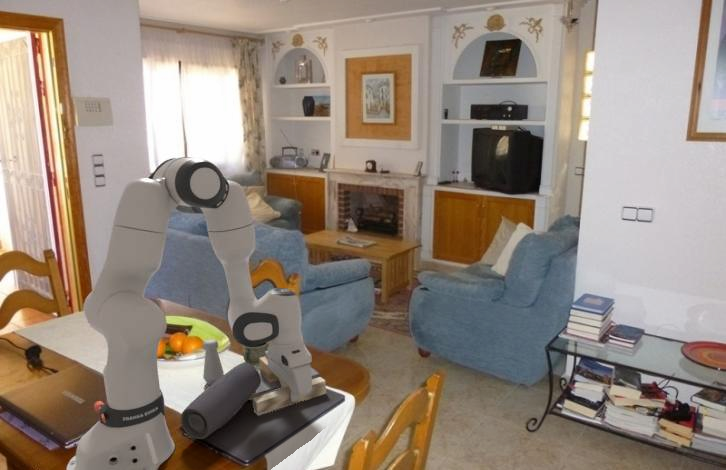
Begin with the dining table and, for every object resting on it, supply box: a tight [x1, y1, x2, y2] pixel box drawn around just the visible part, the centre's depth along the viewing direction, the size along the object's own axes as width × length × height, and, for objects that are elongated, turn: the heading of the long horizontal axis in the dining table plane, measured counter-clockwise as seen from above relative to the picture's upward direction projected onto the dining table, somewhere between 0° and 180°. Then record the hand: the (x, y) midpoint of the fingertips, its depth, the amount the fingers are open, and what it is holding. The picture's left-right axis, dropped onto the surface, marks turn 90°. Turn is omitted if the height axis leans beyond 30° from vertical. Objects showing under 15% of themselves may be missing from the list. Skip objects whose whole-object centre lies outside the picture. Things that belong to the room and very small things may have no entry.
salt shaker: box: [202, 338, 225, 386], centre depth 158 cm, size 6×6×13 cm
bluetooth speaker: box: [180, 362, 261, 440], centre depth 138 cm, size 23×9×10 cm, turn 159°
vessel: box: [241, 341, 269, 366], centre depth 173 cm, size 12×9×6 cm
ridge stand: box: [255, 351, 321, 394], centre depth 158 cm, size 22×13×8 cm, turn 123°
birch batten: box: [251, 376, 327, 413], centre depth 146 cm, size 20×3×4 cm, turn 122°
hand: (289, 396), depth 146 cm, fingers closed on birch batten, 3 cm apart
